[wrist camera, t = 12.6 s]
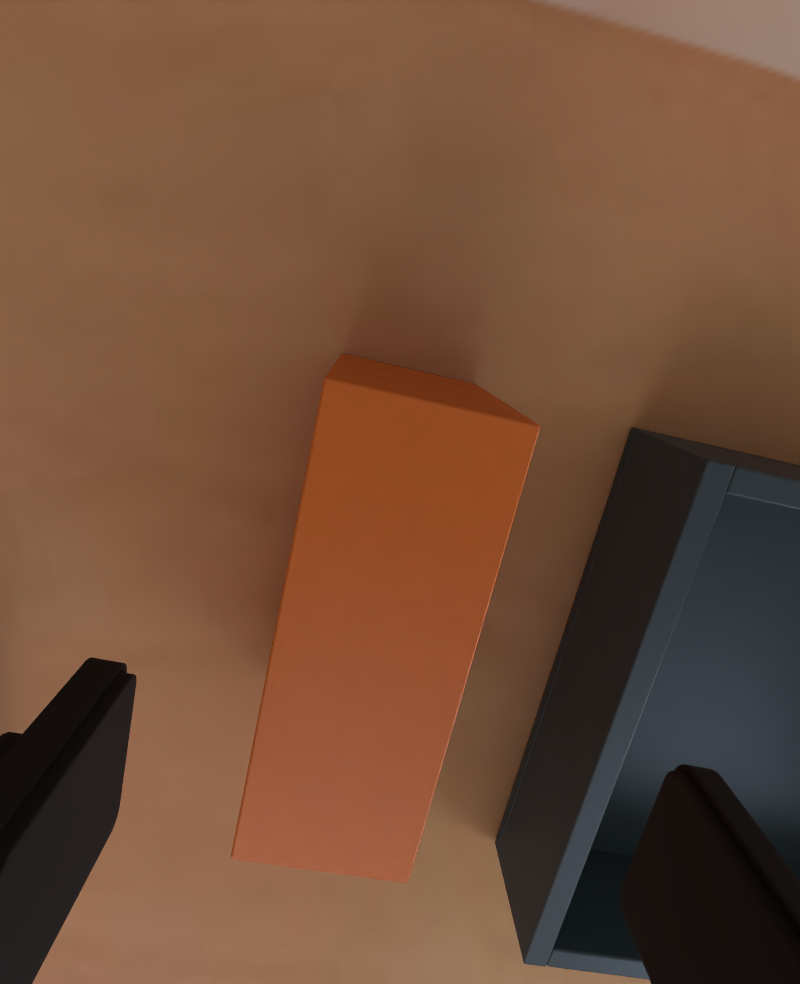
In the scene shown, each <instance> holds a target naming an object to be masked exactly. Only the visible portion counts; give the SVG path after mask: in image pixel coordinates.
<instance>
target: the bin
mask: <svg viewBox="0 0 800 984" xmlns="http://www.w3.org/2000/svg"><path fill="white" fill-rule="evenodd" d="M681 764H686V765H692V766H697V767H703V768H708V769H713V770H715V771H717V772H718V773H719V774H720V775H721V777H722V778H723V779H724V781H725V782H726V783H727V785H728V786H729V787H730V789H731V790H732V791H733V793H734V794H735V795H736V797H737V798H738V799H739V801H740V802H741V803H742V805H743V806H744V807H745V809H746V810H747V811H748V813H749V814H750V815H751V817H752V818H753V819H754V821H755V822H756V823H757V825H758V826H759V827H760V829H761V830H762V831H763V833H764V834H765V835H766V837H767V838H768V839H769V841H770V842H771V843H772V845H773V846H774V847H775V849H776V850H777V851H778V853H779V854H780V855H781V857H782V858H783V859H784V861H785V862H786V863H787V865H788V866H789V867H790V869H791V870H792V871H793V873H794V874H795V875H796V877H797V878H798V879H799V881H800V465H796V464H791V463H787V462H782V461H778V460H774V459H769V458H765V457H761V456H756V455H752V454H747V453H743V452H739V451H734V450H730V449H726V448H721V447H717V446H712V445H708V444H704V443H699V442H695V441H691V440H686V439H682V438H677V437H673V436H669V435H664V434H660V433H656V432H651V431H647V430H642V429H638V428H634V427H633V428H631V431H630V434H629V437H628V440H627V443H626V446H625V449H624V452H623V455H622V458H621V461H620V464H619V467H618V470H617V473H616V476H615V479H614V482H613V485H612V488H611V491H610V494H609V498H608V501H607V504H606V507H605V510H604V513H603V516H602V519H601V522H600V525H599V528H598V531H597V534H596V537H595V540H594V543H593V546H592V549H591V552H590V555H589V558H588V561H587V564H586V567H585V571H584V574H583V577H582V580H581V583H580V586H579V589H578V592H577V595H576V598H575V601H574V604H573V607H572V610H571V613H570V616H569V619H568V622H567V625H566V628H565V631H564V634H563V637H562V640H561V644H560V647H559V650H558V653H557V656H556V659H555V662H554V665H553V668H552V671H551V674H550V677H549V680H548V683H547V686H546V689H545V692H544V695H543V698H542V701H541V704H540V707H539V710H538V713H537V717H536V720H535V723H534V726H533V729H532V732H531V735H530V738H529V741H528V744H527V747H526V750H525V753H524V756H523V759H522V762H521V765H520V768H519V771H518V774H517V777H516V780H515V783H514V786H513V789H512V793H511V796H510V799H509V802H508V805H507V808H506V811H505V814H504V817H503V820H502V823H501V826H500V829H499V832H498V835H497V838H496V841H495V845H496V849H497V852H498V857H499V861H500V866H501V870H502V874H503V878H504V882H505V886H506V891H507V895H508V899H509V903H510V907H511V912H512V916H513V920H514V924H515V928H516V932H517V937H518V941H519V945H520V949H521V953H522V958H523V962H524V964H529V965H537V966H546V965H547V966H549V967H557V968H565V969H572V970H580V971H588V972H596V973H604V974H611V975H619V976H627V977H635V978H642V979H649V977H648V974H647V972H646V969H645V967H644V964H643V962H642V960H641V957H640V955H639V952H638V950H637V947H636V945H635V943H634V940H633V938H632V935H631V933H630V930H629V928H628V926H627V923H626V921H625V918H624V916H623V913H622V910H621V905H620V890H621V886H622V884H623V881H624V879H625V876H626V874H627V871H628V869H629V866H630V864H631V861H632V858H633V856H634V853H635V851H636V848H637V846H638V843H639V841H640V838H641V836H642V833H643V831H644V828H645V826H646V823H647V821H648V818H649V816H650V813H651V811H652V808H653V806H654V803H655V801H656V798H657V796H658V793H659V791H660V788H661V786H662V783H663V781H664V778H665V776H666V774H667V773H668V772H669V771H674V770H675V769H676V767H678V766H679V765H681Z"/></svg>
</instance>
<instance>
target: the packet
mask: <svg viewBox="0 0 800 984" xmlns="http://www.w3.org/2000/svg"><path fill="white" fill-rule="evenodd" d="M539 431H540V426H539V425H538V424H536V423H535V422H533V421H532V420H530V419H529V418H527V417H525V416H524V415H522V414H521V413H519V412H518V411H516V410H515V409H513V408H511V407H510V406H508V405H507V404H505V403H504V402H502V401H501V400H499V399H498V398H496V397H494V396H493V395H491V394H490V393H488V392H487V391H485V390H484V389H482V388H481V387H479V386H477V385H476V384H473V383H468V382H464V381H460V380H455V379H451V378H447V377H442V376H438V375H434V374H429V373H425V372H421V371H416V370H412V369H407V368H403V367H399V366H394V365H390V364H386V363H381V362H377V361H373V360H368V359H364V358H360V357H355V356H351V355H347V354H342V355H341V356H340V358H339V359H338V360H337V362H336V363H335V365H334V366H333V367H332V369H331V370H330V372H329V373H328V375H327V376H326V377H325V379H324V382H323V387H322V392H321V397H320V402H319V407H318V413H317V418H316V423H315V428H314V433H313V438H312V443H311V449H310V454H309V459H308V464H307V469H306V474H305V479H304V484H303V490H302V495H301V500H300V505H299V510H298V515H297V520H296V525H295V531H294V536H293V541H292V546H291V551H290V556H289V561H288V566H287V572H286V577H285V582H284V587H283V592H282V597H281V602H280V607H279V613H278V618H277V623H276V628H275V633H274V638H273V643H272V648H271V654H270V659H269V664H268V669H267V674H266V679H265V684H264V689H263V695H262V700H261V705H260V710H259V715H258V720H257V725H256V730H255V736H254V741H253V746H252V751H251V756H250V761H249V766H248V772H247V777H246V782H245V787H244V792H243V797H242V802H241V807H240V813H239V818H238V823H237V828H236V833H235V838H234V843H233V848H232V854H231V857H232V859H238V860H245V861H252V862H259V863H266V864H273V865H280V866H288V867H295V868H302V869H309V870H316V871H323V872H330V873H338V874H345V875H352V876H359V877H366V878H373V879H380V880H387V881H395V882H402V883H408V881H409V878H410V875H411V871H412V868H413V864H414V861H415V857H416V854H417V850H418V847H419V844H420V840H421V837H422V833H423V830H424V826H425V823H426V820H427V816H428V813H429V809H430V806H431V802H432V799H433V795H434V792H435V789H436V785H437V782H438V778H439V775H440V771H441V768H442V764H443V761H444V758H445V754H446V751H447V747H448V744H449V740H450V737H451V733H452V730H453V727H454V723H455V720H456V716H457V713H458V709H459V706H460V703H461V699H462V696H463V692H464V689H465V685H466V682H467V678H468V675H469V672H470V668H471V665H472V661H473V658H474V654H475V651H476V647H477V644H478V641H479V637H480V634H481V630H482V627H483V623H484V620H485V616H486V613H487V610H488V606H489V603H490V599H491V596H492V592H493V589H494V586H495V582H496V579H497V575H498V572H499V568H500V565H501V561H502V558H503V555H504V551H505V548H506V544H507V541H508V537H509V534H510V530H511V527H512V524H513V520H514V517H515V513H516V510H517V506H518V503H519V499H520V496H521V493H522V489H523V486H524V482H525V479H526V475H527V472H528V469H529V465H530V462H531V458H532V455H533V451H534V448H535V444H536V441H537V438H538V434H539Z"/></svg>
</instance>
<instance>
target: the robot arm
mask: <svg viewBox="0 0 800 984" xmlns="http://www.w3.org/2000/svg"><path fill="white" fill-rule="evenodd" d="M135 688H136V675H134V674H128V673H127V667H126V664H125V663H119V662H114V661H108V660H103V659H97V658H89V659H87V660H86V661H85V662H84V664H83V665H82V666H81V667H80V668H79V669H78V670H77V672H76V673H75V674H74V675H73V676H72V677H71V679H70V680H69V681H68V682H67V683H66V684H65V686H64V687H63V688H62V689H61V690H60V691H59V692H58V694H57V695H56V696H55V697H54V698H53V699H52V701H51V702H50V703H49V704H48V705H47V706H46V708H45V709H44V710H43V711H42V712H41V713H40V714H39V716H38V717H37V718H36V719H35V720H34V721H33V723H32V724H31V725H30V726H29V727H28V728H27V730H26V731H25V732H24V733H23V734H19V733H13V732H7V733H5V734H2V735H1V736H0V984H32V983H33V981H34V979H35V977H36V975H37V973H38V971H39V969H40V967H41V965H42V963H43V962H44V960H45V958H46V956H47V954H48V952H49V950H50V948H51V946H52V944H53V942H54V941H55V939H56V937H57V935H58V933H59V931H60V929H61V927H62V925H63V923H64V922H65V920H66V918H67V916H68V914H69V912H70V910H71V908H72V906H73V904H74V902H75V901H76V899H77V897H78V895H79V893H80V891H81V889H82V887H83V885H84V883H85V881H86V880H87V878H88V876H89V874H90V872H91V870H92V868H93V866H94V864H95V862H96V860H97V859H98V857H99V855H100V853H101V851H102V849H103V847H104V845H105V843H106V841H107V839H108V838H109V836H110V834H111V832H112V829H113V827H114V824H115V822H116V818H117V815H118V811H119V806H120V799H121V792H122V784H123V777H124V770H125V762H126V755H127V747H128V740H129V733H130V725H131V718H132V710H133V703H134V696H135ZM620 905H621V910H622V913H623V916H624V918H625V921H626V923H627V926H628V928H629V930H630V933H631V935H632V938H633V940H634V943H635V945H636V947H637V950H638V952H639V955H640V957H641V960H642V962H643V964H644V967H645V969H646V972H647V974H648V977H649V979H650V982H651V984H800V881H799V879H798V878H797V877H796V875H795V874H794V873H793V871H792V870H791V869H790V867H789V866H788V865H787V863H786V862H785V861H784V859H783V858H782V857H781V855H780V854H779V853H778V851H777V850H776V849H775V847H774V846H773V845H772V843H771V842H770V841H769V839H768V838H767V837H766V835H765V834H764V833H763V831H762V830H761V829H760V827H759V826H758V825H757V823H756V822H755V821H754V819H753V818H752V817H751V815H750V814H749V813H748V811H747V810H746V809H745V807H744V806H743V805H742V803H741V802H740V801H739V799H738V798H737V797H736V795H735V794H734V793H733V791H732V790H731V789H730V787H729V786H728V785H727V783H726V782H725V781H724V779H723V778H722V777H721V775H720V774H719V773H718V772H717V771H715V770H713V769H708V768H703V767H697V766H692V765H686V764H681V765H679V766H678V767H676V769H675V770H674V771H669V772H668V773H667V774H666V776H665V778H664V781H663V783H662V786H661V788H660V791H659V793H658V796H657V798H656V801H655V803H654V806H653V808H652V811H651V813H650V816H649V818H648V821H647V823H646V826H645V828H644V831H643V833H642V836H641V838H640V841H639V843H638V846H637V848H636V851H635V853H634V856H633V858H632V861H631V864H630V866H629V869H628V871H627V874H626V876H625V879H624V881H623V884H622V886H621V890H620Z"/></svg>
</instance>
